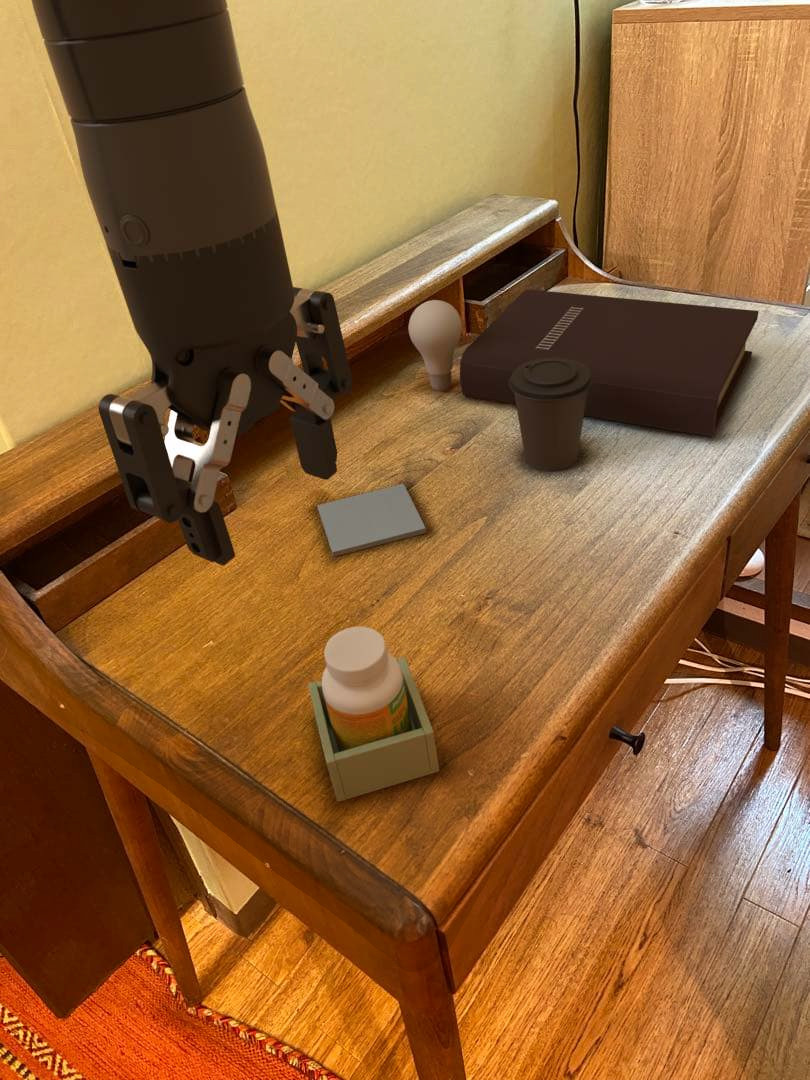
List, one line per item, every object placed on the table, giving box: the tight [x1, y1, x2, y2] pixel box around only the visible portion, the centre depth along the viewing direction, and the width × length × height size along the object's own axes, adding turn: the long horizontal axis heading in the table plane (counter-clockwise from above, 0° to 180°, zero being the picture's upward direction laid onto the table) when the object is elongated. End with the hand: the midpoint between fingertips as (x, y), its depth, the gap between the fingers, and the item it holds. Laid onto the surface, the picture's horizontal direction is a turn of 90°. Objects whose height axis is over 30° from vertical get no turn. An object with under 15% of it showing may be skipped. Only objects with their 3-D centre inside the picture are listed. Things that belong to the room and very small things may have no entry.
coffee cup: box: [509, 358, 593, 472], centre depth 82 cm, size 8×8×10 cm
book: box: [459, 288, 759, 438], centre depth 94 cm, size 28×20×6 cm
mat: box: [316, 483, 427, 558], centre depth 79 cm, size 9×8×1 cm
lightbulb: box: [408, 299, 463, 392], centre depth 95 cm, size 6×6×11 cm
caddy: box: [307, 656, 440, 803], centre depth 57 cm, size 7×7×4 cm
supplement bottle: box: [321, 626, 412, 752], centre depth 55 cm, size 5×5×10 cm
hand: (271, 513), depth 46 cm, fingers open, 8 cm apart
